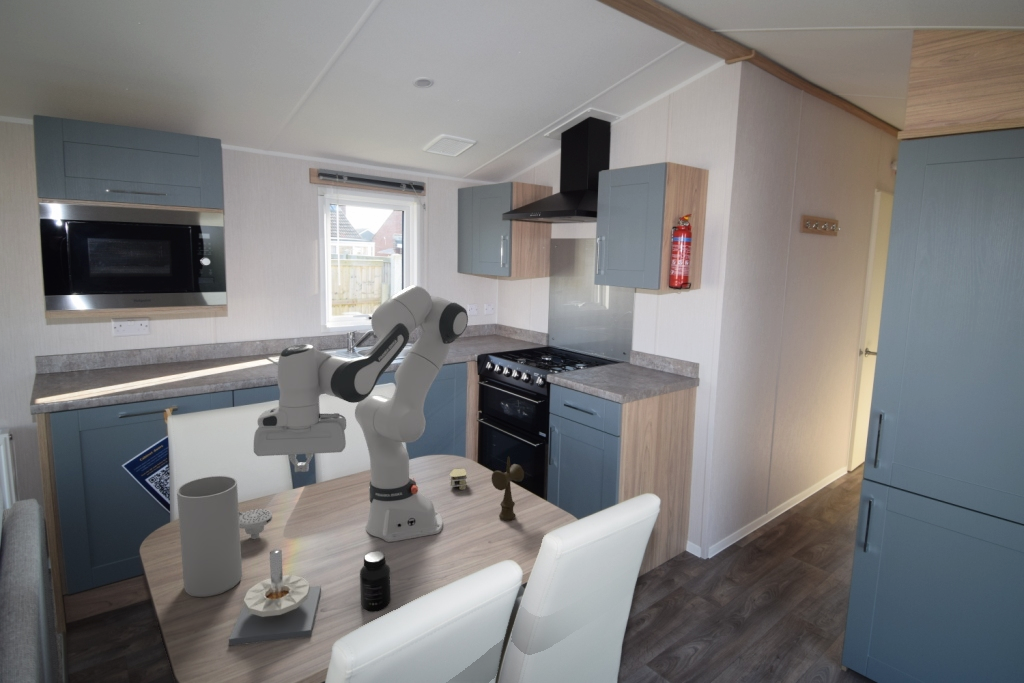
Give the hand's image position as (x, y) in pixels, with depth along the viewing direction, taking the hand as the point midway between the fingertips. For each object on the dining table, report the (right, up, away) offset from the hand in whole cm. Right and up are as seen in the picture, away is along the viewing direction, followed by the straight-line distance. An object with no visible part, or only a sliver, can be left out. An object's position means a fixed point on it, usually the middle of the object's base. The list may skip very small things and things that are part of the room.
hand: (301, 470), depth 130 cm
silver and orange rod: (-2, -29, -8) cm, 30 cm away
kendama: (+49, -25, +41) cm, 68 cm away
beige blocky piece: (+31, -21, +63) cm, 73 cm away
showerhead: (-24, -25, +26) cm, 43 cm away
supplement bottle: (+18, -31, -3) cm, 36 cm away
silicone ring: (-2, -26, -9) cm, 27 cm away
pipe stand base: (-2, -31, -8) cm, 32 cm away
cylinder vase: (-23, -29, +4) cm, 37 cm away
